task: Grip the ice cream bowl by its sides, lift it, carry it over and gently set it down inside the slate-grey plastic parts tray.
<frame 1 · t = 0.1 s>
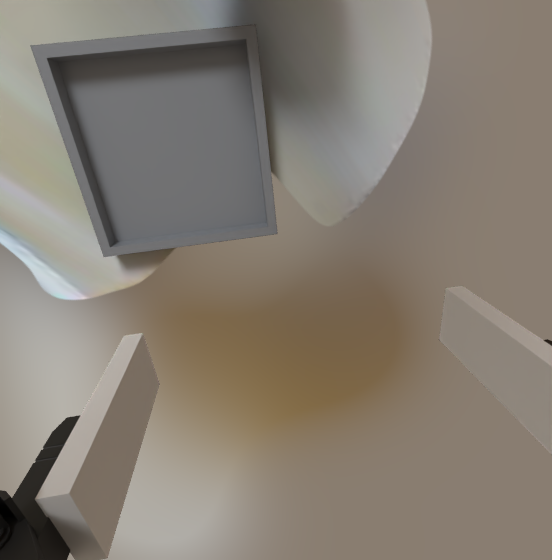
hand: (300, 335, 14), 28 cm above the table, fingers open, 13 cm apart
parts tray: (176, 151, 36), on the table
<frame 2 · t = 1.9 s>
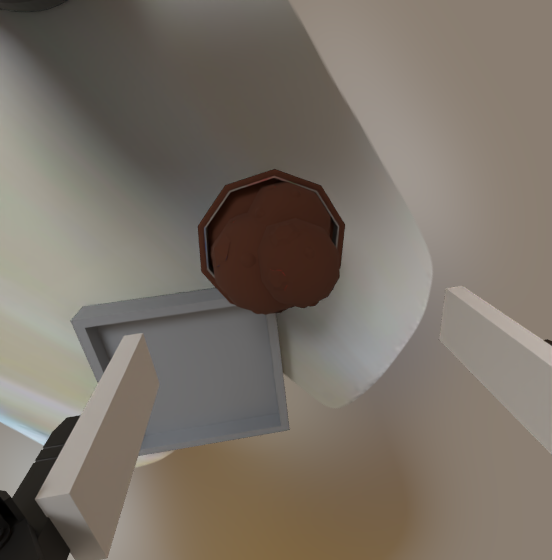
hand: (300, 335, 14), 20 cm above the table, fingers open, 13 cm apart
parts tray: (197, 366, 39), on the table
ice cream bowl: (262, 216, 33), on the table
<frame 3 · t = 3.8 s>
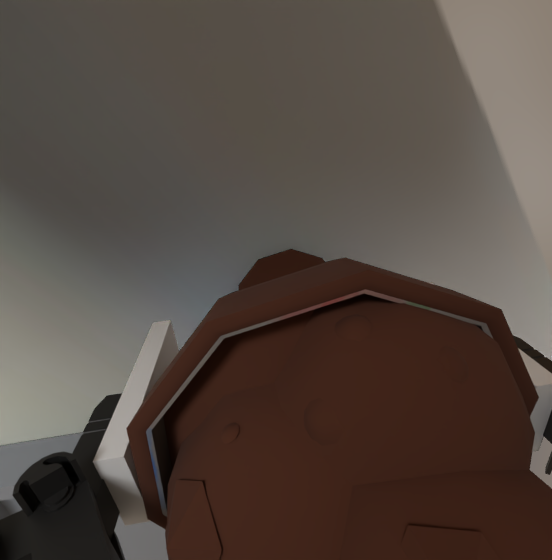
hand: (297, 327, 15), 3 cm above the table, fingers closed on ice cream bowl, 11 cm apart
parts tray: (174, 521, 24), on the table
ice cream bowl: (288, 296, 18), on the table, touching gripper
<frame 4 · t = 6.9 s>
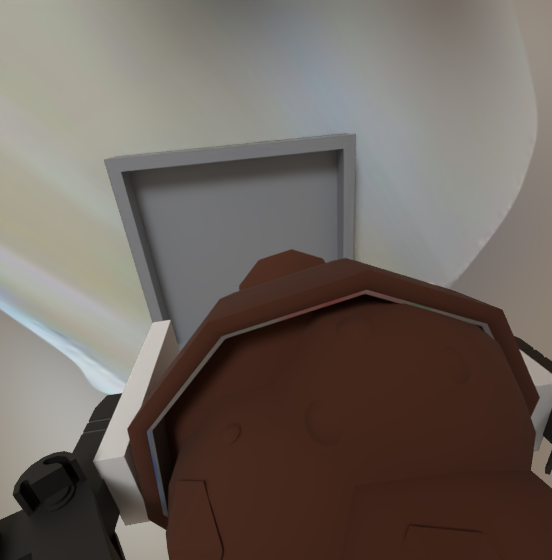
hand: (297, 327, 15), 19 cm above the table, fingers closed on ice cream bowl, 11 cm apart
parts tray: (247, 252, 33), on the table
ice cream bowl: (288, 297, 18), point 16 cm above the table, touching gripper
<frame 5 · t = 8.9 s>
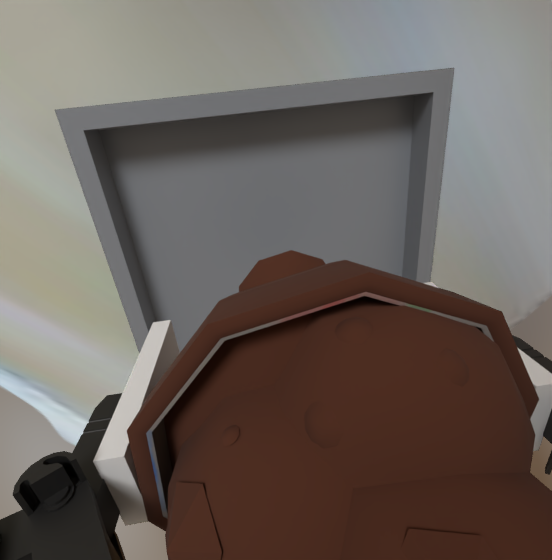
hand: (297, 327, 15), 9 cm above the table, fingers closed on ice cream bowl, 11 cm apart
parts tray: (275, 255, 23), on the table
ice cream bowl: (288, 297, 18), point 6 cm above the table, touching gripper
when the fingers open (5 cm above the table, at t = 10.3 s): ice cream bowl drops 1 cm, resting on parts tray.
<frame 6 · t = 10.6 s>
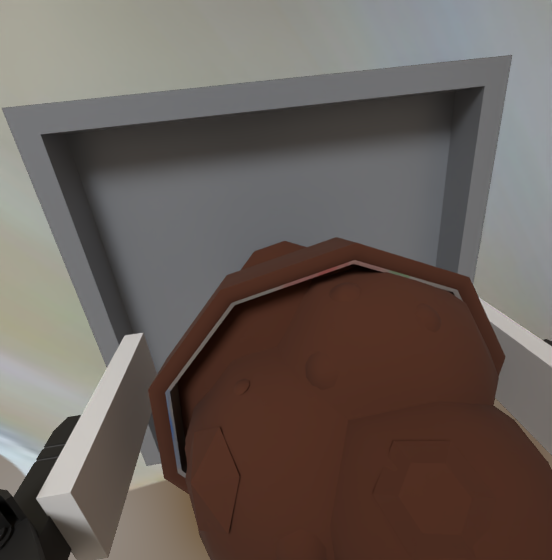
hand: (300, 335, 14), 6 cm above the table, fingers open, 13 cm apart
parts tray: (283, 281, 19), on the table
ice cream bowl: (282, 286, 19), point 1 cm above the table, touching parts tray
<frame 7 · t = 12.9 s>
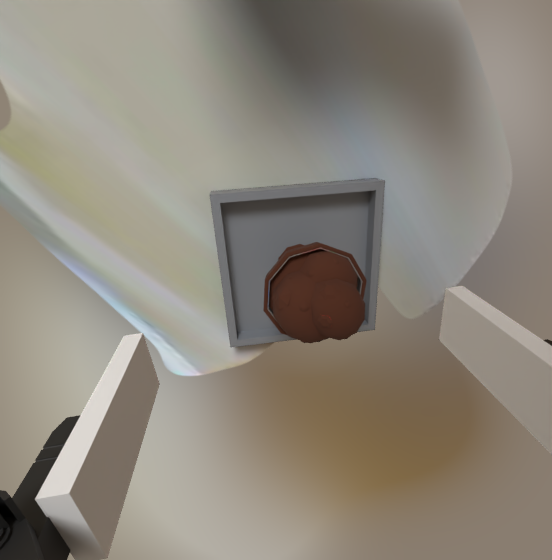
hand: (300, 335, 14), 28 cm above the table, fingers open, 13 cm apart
parts tray: (297, 262, 43), on the table
ice cream bowl: (297, 263, 43), point 1 cm above the table, touching parts tray
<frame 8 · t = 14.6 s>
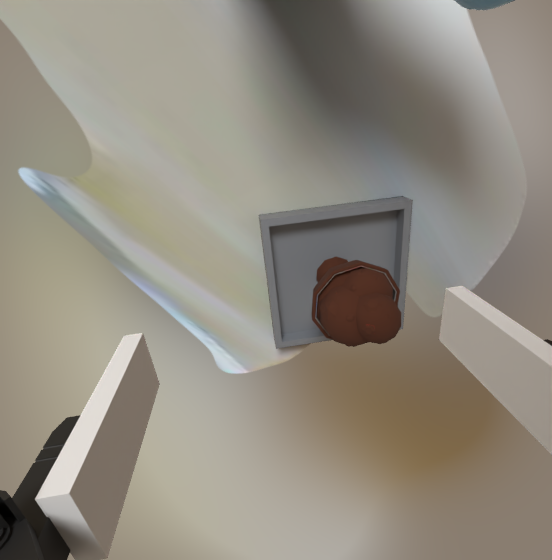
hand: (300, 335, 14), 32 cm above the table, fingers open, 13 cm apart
parts tray: (333, 272, 49), on the table
ice cream bowl: (333, 273, 48), point 1 cm above the table, touching parts tray
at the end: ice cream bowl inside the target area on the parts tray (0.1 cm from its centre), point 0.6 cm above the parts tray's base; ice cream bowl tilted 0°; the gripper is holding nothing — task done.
